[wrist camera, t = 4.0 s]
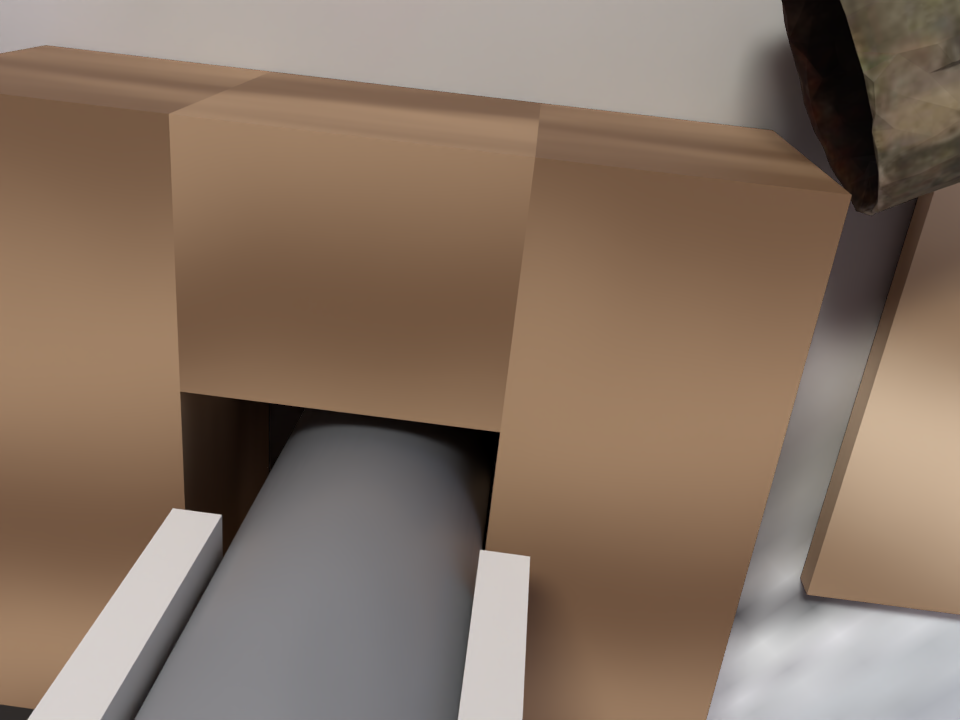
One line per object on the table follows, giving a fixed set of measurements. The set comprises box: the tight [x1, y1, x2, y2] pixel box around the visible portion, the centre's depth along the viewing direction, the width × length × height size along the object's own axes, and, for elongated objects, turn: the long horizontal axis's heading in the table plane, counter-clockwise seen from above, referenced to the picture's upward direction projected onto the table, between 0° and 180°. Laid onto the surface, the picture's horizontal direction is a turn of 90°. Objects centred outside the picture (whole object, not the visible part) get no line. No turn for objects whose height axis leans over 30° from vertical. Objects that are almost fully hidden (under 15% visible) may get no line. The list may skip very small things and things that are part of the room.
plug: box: [134, 408, 497, 720], centre depth 13 cm, size 4×4×14 cm
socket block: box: [0, 45, 852, 720], centre depth 18 cm, size 14×14×5 cm
